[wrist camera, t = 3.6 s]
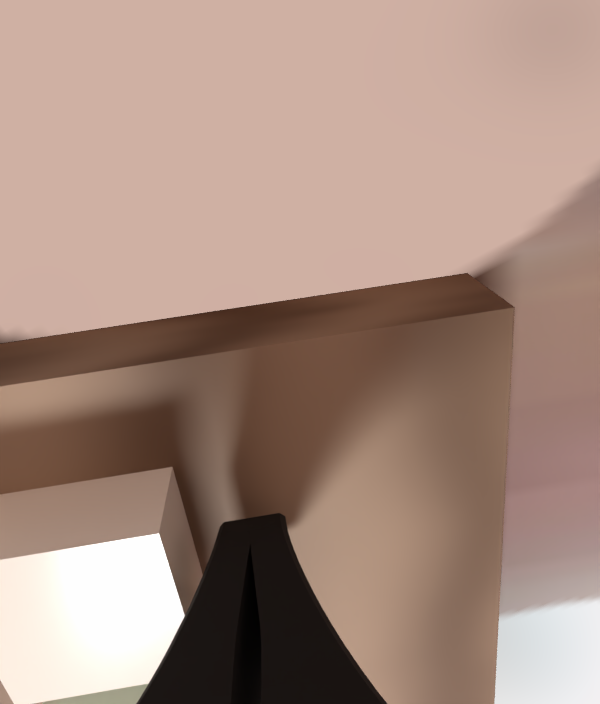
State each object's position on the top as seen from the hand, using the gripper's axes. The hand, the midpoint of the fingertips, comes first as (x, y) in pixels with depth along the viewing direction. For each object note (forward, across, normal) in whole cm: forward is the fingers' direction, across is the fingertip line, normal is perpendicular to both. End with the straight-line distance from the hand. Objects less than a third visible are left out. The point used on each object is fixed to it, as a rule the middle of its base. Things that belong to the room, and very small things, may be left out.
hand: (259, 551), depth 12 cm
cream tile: (+1, +4, 0) cm, 4 cm away
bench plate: (+3, +1, +2) cm, 4 cm away
